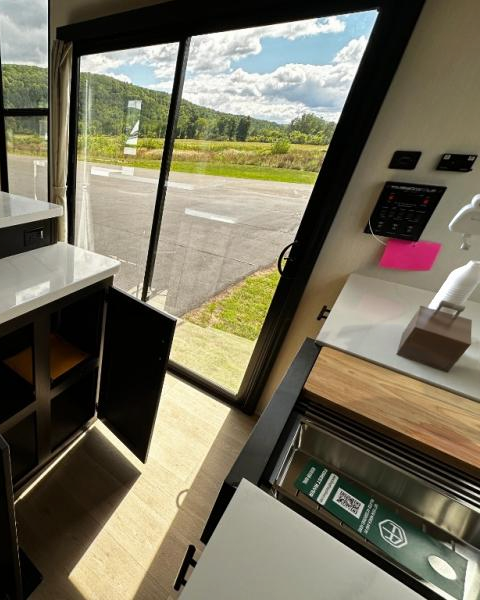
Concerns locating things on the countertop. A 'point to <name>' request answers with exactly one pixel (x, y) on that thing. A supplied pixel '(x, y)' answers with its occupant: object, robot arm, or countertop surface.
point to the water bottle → (458, 286)
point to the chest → (429, 348)
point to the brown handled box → (445, 323)
